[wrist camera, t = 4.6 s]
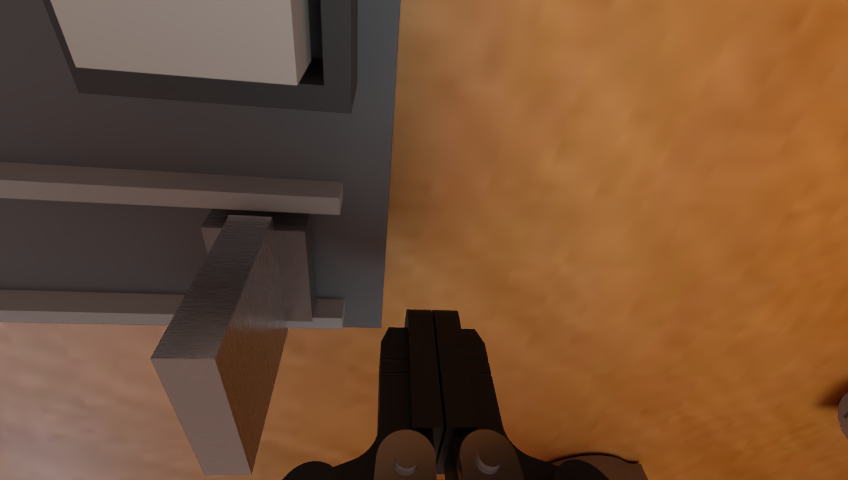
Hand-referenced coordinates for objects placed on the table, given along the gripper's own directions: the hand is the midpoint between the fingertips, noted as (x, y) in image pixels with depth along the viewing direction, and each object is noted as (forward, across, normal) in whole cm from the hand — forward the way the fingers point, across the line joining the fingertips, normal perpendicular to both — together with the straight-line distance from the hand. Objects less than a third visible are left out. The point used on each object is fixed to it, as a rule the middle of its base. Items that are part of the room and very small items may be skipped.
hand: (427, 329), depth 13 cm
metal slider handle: (+3, +5, 0) cm, 6 cm away
